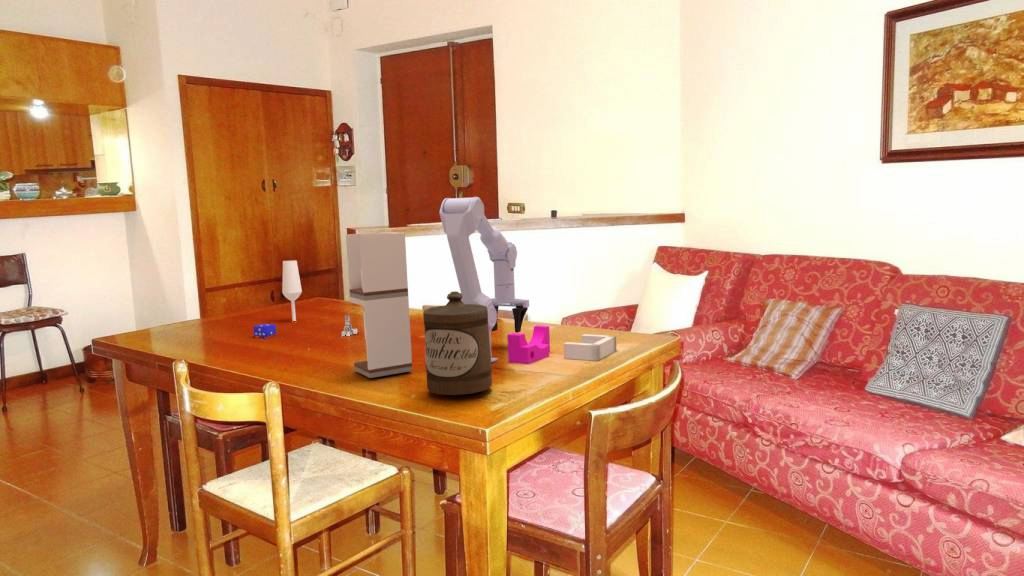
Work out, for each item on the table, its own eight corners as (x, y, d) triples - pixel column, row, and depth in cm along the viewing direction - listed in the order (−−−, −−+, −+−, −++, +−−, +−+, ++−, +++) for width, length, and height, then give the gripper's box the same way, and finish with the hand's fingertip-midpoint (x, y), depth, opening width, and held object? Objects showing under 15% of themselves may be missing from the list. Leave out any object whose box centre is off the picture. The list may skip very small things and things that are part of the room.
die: (267, 342, 227) (265, 326, 226) (254, 341, 228) (253, 326, 228) (276, 339, 231) (275, 324, 231) (264, 338, 233) (263, 323, 232)
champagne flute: (281, 329, 250) (276, 262, 247) (290, 326, 257) (285, 260, 254) (299, 329, 249) (294, 261, 246) (307, 325, 255) (302, 260, 253)
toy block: (528, 364, 181) (527, 336, 180) (508, 362, 185) (507, 334, 184) (557, 353, 194) (557, 326, 193) (538, 351, 197) (537, 325, 196)
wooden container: (415, 393, 157) (410, 295, 154) (444, 377, 170) (440, 287, 168) (476, 397, 151) (471, 296, 149) (501, 380, 165) (498, 287, 163)
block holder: (597, 361, 182) (597, 345, 181) (563, 358, 186) (563, 343, 186) (616, 350, 194) (616, 336, 193) (584, 348, 198) (584, 334, 198)
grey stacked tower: (395, 363, 188) (388, 232, 183) (412, 370, 179) (404, 232, 174) (354, 370, 181) (345, 234, 177) (369, 378, 173) (360, 235, 168)
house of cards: (365, 341, 223) (363, 317, 222) (337, 342, 223) (336, 318, 222) (371, 336, 232) (369, 313, 231) (344, 337, 232) (343, 314, 231)
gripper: (533, 283, 200) (534, 330, 202) (489, 282, 207) (491, 327, 209) (522, 286, 194) (523, 334, 196) (476, 284, 201) (479, 331, 203)
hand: (506, 331), depth 202 cm, fingers open, 7 cm apart
